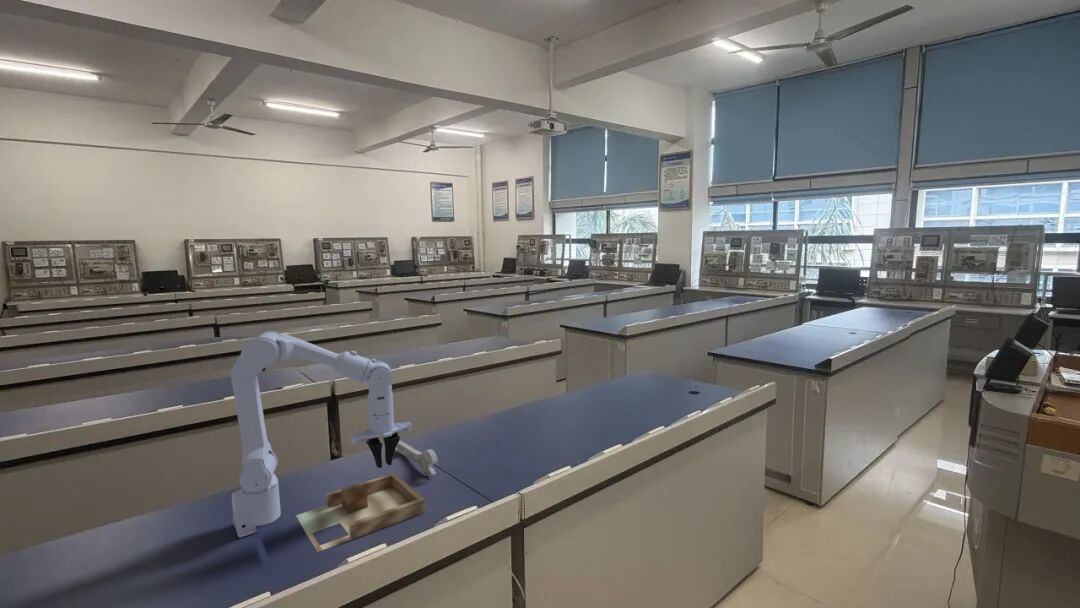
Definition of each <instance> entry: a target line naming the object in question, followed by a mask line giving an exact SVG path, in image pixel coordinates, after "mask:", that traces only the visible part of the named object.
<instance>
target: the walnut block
mask: <svg viewBox="0 0 1080 608" xmlns="http://www.w3.org/2000/svg"><path fill="white" fill-rule="evenodd" d="M361 483H362V482H358V483H354V484H351V485H348V486H345V487H342V488H340V489H341V491H342V506H343V507H344V509H345V510H346V511H347V512H348V514H350V513H353V512H356V511H359V510H361V509H364V508H367V507H368V502H367V489H366V488H365V487H364V486H363V485H362V484H361Z"/></svg>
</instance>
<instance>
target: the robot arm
mask: <svg viewBox="0 0 1080 608" xmlns="http://www.w3.org/2000/svg"><path fill="white" fill-rule="evenodd" d="M357 353H358V352H357V351H354V350H350V351H348V350H347V351H343V352H340V353H336V352H333V351H331V350H328V349H326V348H324V347H320V346H319V345H316V344H313V343H310V342H309V341H308V342H307V341H306V340H304V339H301V338H298V337H295V336H293V335H290V334H286V333H282V334H281V333H279V332H278V331H275V330H266V331H263V332H261V333H260V334H258V336H256V337H255V338H254V339H253V340H251V341H250V342H249V343H248V344H247V345H246V346H244V347H243V348H242V350H241V352H240V354H239V356H238V358H237V360H236V362H235V363H234V365H233V367H232V368H231V370H230V378H231V379H230V381H231V385H232V391H233V398H234V404H235V409H236V416H237V421H238V426H239V428H238V429H239V433H240V439H241V445H242V454H241V456H242V457H241V473H240V475H239V480H238V481H239V485H240V487H241V488H240V489H239V490H237V491H234V492H232V493H231V505H232V524H233V526H234V528H235V529H234V530H235V531H236V535H237V537H238V538H243V537H246V536H249V535H252V534H256V533H258V532H259V530H258V528H257V527H260V526H265V525H268V524H270V523H273V522H274V521H277V520H278V519H279V517H281V514H282V513H281V501H280V487H279V479H278V477H277V476H276V474H275V471H276V469H277V467H278V465H279V461H278V460H279V459H278V457H277V455H276V454H275V453H274V451H273V449H272V445H271V443H270V441H269V440H268V435H267V429H266V423H265V415H264V410H263V402H262V396H261V392H260V385H259V378H258V375H259V374H260V373H261V372H262V371H263V369H265V368H267V367H268V366H270V365H272V364H273V363H275V362H277V360H278V358H279V357H280V356H281V360H280V361H288V360H290V359H294V358H300V359H304V360H307V361H310V362H315V363H318V364H319V365H325V366H328V367H331V368H333V370H334V372H335V375H338V376H341V377H344V378H347V379H350V380H352V381H353V380H354V381H357V382H360V383H366V384H367V386H368V394H367V401H368V423H369V424H368V425H369V428H368V429H366V430H363V431H360V432H357V433H354V434H351V435H350V441H351V442H350V443H351V445H353V446H357V445H359V444H361V443H366V444H367V446H368V448H369V449H370V452H371V453H372V457H373V458H374V463H375V466H376V467H377V468H378V469H381V468H383V461H382V460H383V459H382V452H383V451H382V450H383V443H384V455H385V456H384V457H385V463H386V465H388V466H391V465H392V464H393V458H394V455H395V452H396V450H395V449H396V446H397V444H398V442H399V441H401V439H400V435H399V434H400V433H404V432H412V431H413V428H412V426H413V423H411V422H410V421H406V422H405V421H404V422H399V423H398V422H397V423H395V418H394V417H395V416H394V415H395V414H394V395H393V390H392V389H393V382H394V377H393V373H392V370H391V367H390V366H389V365H388V364H387V362H384V361H383V360H377V358H374V357H373V358H371V359H370V358H367V357H364V356H362V355H359V354H357ZM381 438H382V439H383V443H382V442H381V440H380V439H381Z"/></svg>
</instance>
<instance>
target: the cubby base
mask: <svg viewBox="0 0 1080 608" xmlns="http://www.w3.org/2000/svg"><path fill="white" fill-rule="evenodd" d="M360 483H361V484H362V485H363V486H364V487H365V488H366V489H367V502H368V507H367V508H364V509H361V510H359V511H356V512H353V513H350V514H348V512H347V511H346V510H345V509H344V507H343V506H342V491H341V488H340V489H337V490H334V491H331V492H328V493H326V505H324V506H321V507H318V508H315V509H312V510H308V511H305V512H302V513H299V514H296V515H295V517H296V518H297V521H298V522H299V524H300V525H301V528H303V529H302V530H304V532H305V534H306V537H308V539H309V541H310V543H311V544H312V546H313V547H314V549H315V551H316V552H317V553H319V552H322V551H324V550H327V549H330V548H332V547H334V546H338V545H340V544H343V543H346V542H349V541H351V540H354V539H357V538H359V537H361V536H365V535H367V534H369V533H372V532H373V533H374V532H376V531H378V530H381V529H383V528H386V527H390V526H391V525H394V524H398V523H400V522H402V521H403V522H404V521H405V520H407V519H411V518H413V517H416V516H419V515H422V514H424V513H426V499H425V497H423V496H422V495H420V494H419V493H418V492H417V491H416V490H415V489H413V488H412V487H411V486H410V485H409V484H408V483H407V482H406V481H404V480H403V479H402V478H401V477H400V476H399V475H397V474H396V473H395V472H392V473H389V474H386V475H382V476H379V477H377V478H373V479H370V480H366V481H364V482H360ZM339 524H340V526H342V528H343V529H344V530H345V532H346V533H347V535H344V536H342V537H340V538H336V539H333V540H332V541H329V542H326V543H323V544H319V542H318V541H317V539H316V537H315V535H314V533H316V532H320V531H322V530H325V529H328V528H331V527H333V526H336V525H339Z"/></svg>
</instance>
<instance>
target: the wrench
mask: <svg viewBox="0 0 1080 608" xmlns="http://www.w3.org/2000/svg"><path fill="white" fill-rule="evenodd" d="M395 452H397V453H399V454H401V455H402V456H404V457H406V458H408V459H409V460H410V461H413V462H415V464H417V465H418V466H419V467H420V469H421V471H422V473H423V476H424V477H425V478H427V477H426V476H428V477H430V478H431V477H435V476H436V474H437V472H436V470H435V469H434V467H433V466H432V465H436V464H438V463H439V459H438V457H437V453H435V450H433V449H431V448H430V449H428V450H427V449H426V450H425V451H423V452H421V451H420V450H418V449H416V448H415V447H412V446H410V445H409V444H407V443H405V442H404V441H402V440H400V441H399V442H398V444H397V446H396V449H395Z"/></svg>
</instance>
